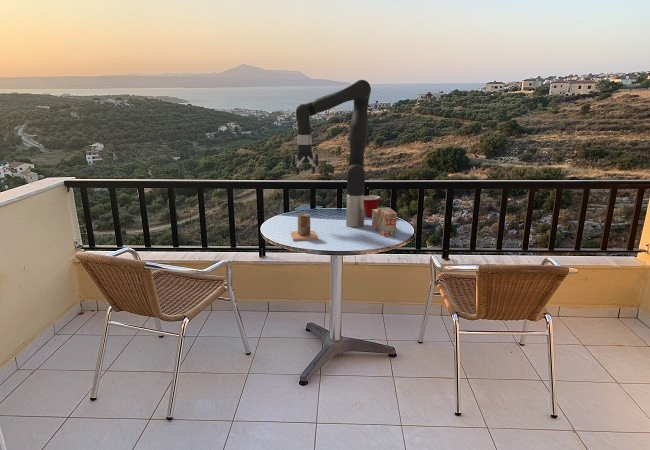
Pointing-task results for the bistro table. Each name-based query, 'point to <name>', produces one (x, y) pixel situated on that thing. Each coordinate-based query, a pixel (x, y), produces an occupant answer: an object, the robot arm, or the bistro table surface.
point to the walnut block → (304, 224)
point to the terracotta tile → (297, 237)
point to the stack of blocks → (384, 221)
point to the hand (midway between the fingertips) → (305, 174)
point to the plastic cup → (370, 204)
